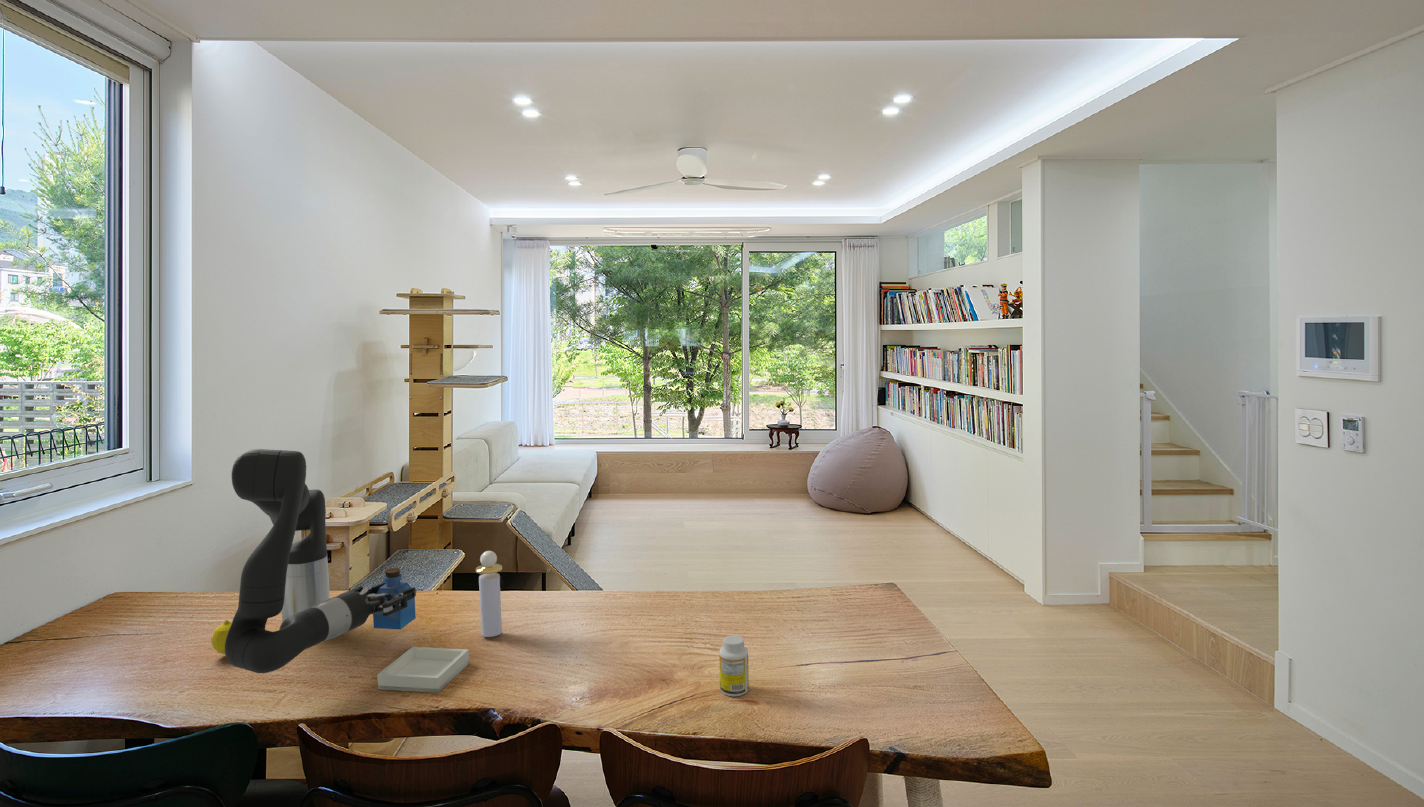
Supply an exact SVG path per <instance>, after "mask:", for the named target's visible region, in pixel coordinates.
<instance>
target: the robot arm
mask: <svg viewBox="0 0 1424 807" xmlns="http://www.w3.org/2000/svg"><path fill="white" fill-rule="evenodd" d="M306 478H307V462H306V457H305V455H304V454H303V452H302V451H298V450H297V451H296V450H287V449H285V450H281V449H263V448H253V449H248V450H245V451H242V452H241V453H240V454H239V455H238V456H237V457H236V459H235V461H234V463H233V465H232V469H231V484H232V488H233V490H234V492H235V494H236V495H237V496H238V498H239V499H242V500H245V501H248V502H251V503H253V504H254V505H256V506H257V507H258V508H259V509H260V510H261V511H262V512H263V513H264V514H266V515H267V516H268V517H269V519H270V521H271V522H272V527H271V529H270V530H269V531H268V533H267V534H266V535H265V537H264V538H263V539H262V540H261V542H260V543H258V545H257V547H255V549H254V550H253V551H252V553H250V555H249V556H248V558H247V560H246V562H245V563H244V565H243V568H242V571H241V576H240V582H239V583H240V584H239V595H238V606H237V609H236V611H235V613H234V616H233V618H232V622H231V623H232V624H231V626H230V629H229V632H228V634H227V637H226V641H225V654H224V655H225V658H226V661H227V662H228V663H229V664H230V665H231V666H234V667H236V668H238V669H239V668H240V669H243V670H246V671H248V672H252V673H255V674H267V673H271V672H274V671H277V670H279V669H281V668H283V667H285V665H287V664H289V663H290V662H291V661H293V660H294V659H295V658H296V657H298V656H299V655H300V654H301V653H302V652H303V651H305V650H307V649H310V648H312V647H314V646H316V645H319V644H320V643H322V642H326V641H328V640H332V639H334V638H337V637H339V636H342V635H344V634H345V633H347V632H350V631H352V630H355V629H357V628H358V627H362V626H363V625H364V624H365V623H366V622H367V620H368V618H369V616H371V615H373V614H376V613H377V612H380V611H381V612H383V616H388V615H390V614H392V613H395V612H397V611H399V610H401V609H404V608H406V607H408V604H407V601H408V600H410V599H412V598H414V597H416V596H417V590H416V587H412V586H410V587H411V588H409V589H407V590H404V591H402V592H400V593H395V594H391V593H389V592H388V593H382V594H376V593H377V592H378V590H379V588H380V587H382V586H383V585H385V584H386V582H385V581H384V582H380V583H378V584H375V585H374V586H366V587H365V588H364V585H363V586H360V585H359V586H357V587H354V588H352V589H349V590H347V591H344V592H342V593H340V594H338V595H335V596H333V597H331V595H330V592H331V591H330V579H329V577H330V576H329V563H328V561H329V560H328V546H327V532H326V531H327V530H326V528H327V527H326V515H327V514H326V513H327V512H326V509H327V508H326V498H325V495H324V493H323V491H322V490H320V489H309V488H308V486H307V484H306ZM309 530H310V532H309V534H307V536H305V537H303V538H302V539H300V540H298V541H295V542H293V541H294V537H295V534H296V532H298V531H299V532H300V531H309ZM384 597H387V601H386V602H385V603H384ZM395 597H397V598H395ZM392 598H395V599H392ZM280 613H281V620H282V621H281V624H280V627H279V630H274V631H272V630H271V631H270V630H267V629H266V625H267V622H268V619H270V618H274V617H276V616H278V615H280Z"/></svg>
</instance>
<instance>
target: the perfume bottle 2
mask: <svg viewBox="0 0 1424 807" xmlns="http://www.w3.org/2000/svg"><path fill="white" fill-rule="evenodd" d="M479 561H480V564H481V565H478V566H477V567H476V568H475V573H477V574H479V576H478V586H479V588H478V589H479V590H478V591H479V608H480V610H479V611H480V633H481V636H482V637H486V638H490V637H491V638H493V637H496V636H499V635H501V634H502V632H503V626H502V625H503V623H502V598H501V595H502V594H501V589H502V591H503V590H504V581H503V579H502V576H500V573H498V572H501V571H502V570H503V565H502V564H500V563H497V561H498V556H497V554H496V552H494V551H492V550H486V551H484V552H482V554H481V555H480V558H479Z"/></svg>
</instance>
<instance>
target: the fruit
mask: <svg viewBox="0 0 1424 807" xmlns="http://www.w3.org/2000/svg"><path fill="white" fill-rule="evenodd" d="M231 624H232V622H230V621H229V620H227V619H226V620H224V622H223V623H221V624H220V625H218V627H216V628H215V629H214V630H213V633H212V636H211V645H212V647H213V649H214V651H216V652H217V653H219V654H223V655H225V641H226V637H227V634H228V632H229V629H230V626H231Z"/></svg>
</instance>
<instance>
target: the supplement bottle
mask: <svg viewBox="0 0 1424 807" xmlns="http://www.w3.org/2000/svg"><path fill="white" fill-rule="evenodd" d="M722 643H723V644H722V647H721V648H720V649H719V653H718V654H719V660H718V661H719V689H720V691H721V693H722V694H724V695H725V696H729V697H734V698H735V697H740V696H744V695H745V694H746V693H747V692H749V687H750V685H749V684H750V683H749V677H750V676H749V650H748V648H747V647H746V646H745V639H744V638H743V637H742V636H740V635H728V636H725V637H724V638H723V641H722Z"/></svg>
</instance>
